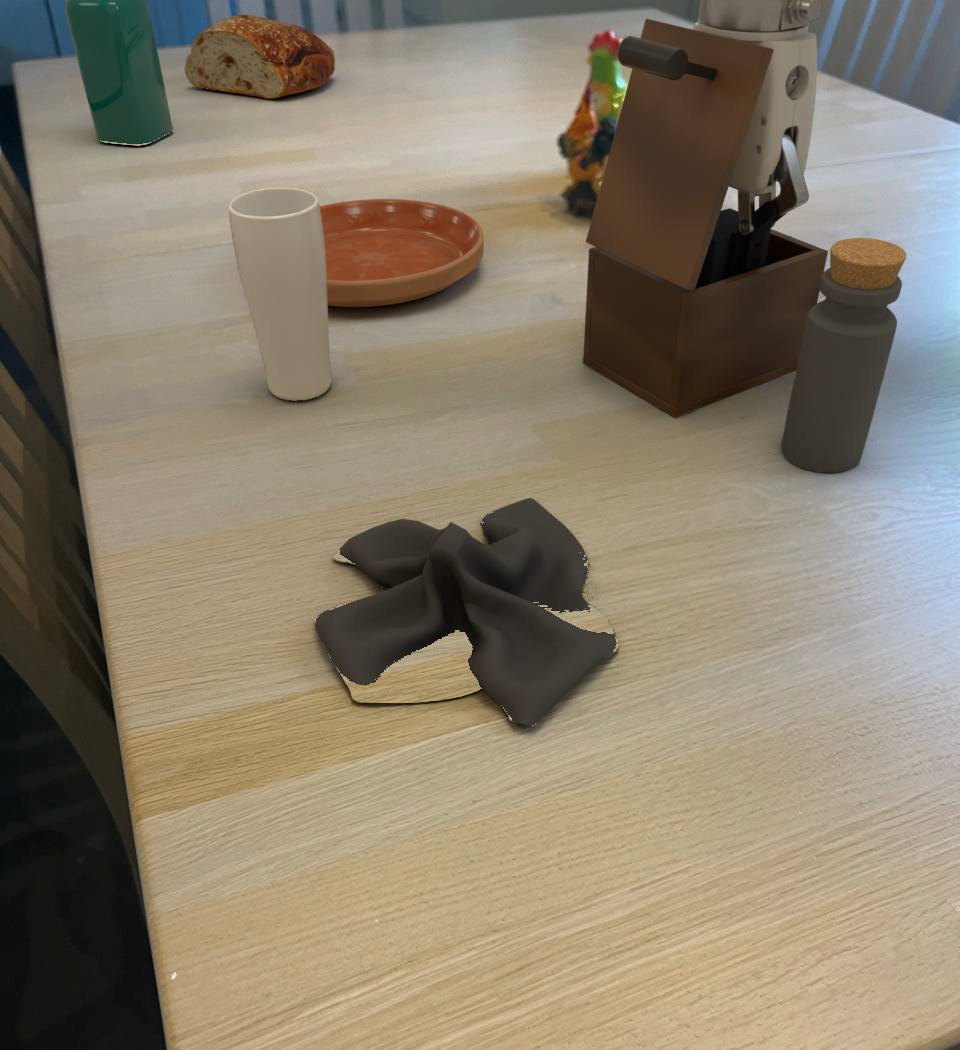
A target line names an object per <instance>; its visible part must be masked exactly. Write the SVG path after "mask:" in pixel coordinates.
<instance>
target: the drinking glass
mask: <svg viewBox="0 0 960 1050" xmlns="http://www.w3.org/2000/svg"><path fill="white" fill-rule="evenodd" d="M320 206H321V205H320V200H319V198H318V196H317V195H316V194H315V193H313V192H311V191H309V190H306V189H302V188H296V187H285V186H283V187H282V186H280V187H279V186H278V187H277V186H276V187H266V188H259V189H255V190H250V191H247V192H244V193H241V194H239V195H237V196H236V197H233V198H232V199H231V200H230V201H229V203H228V205H227V209H228V217H229V225H230V232H231V240H232V246H233V250H234V251H233V252H234V256H235V261H236V265H237V270H238V274H239V277H240V282H241V285H242V289H243V293H244V296H245V301H246V303H247V307H248V311H249V315H250V319H251V323H252V327H253V330H254V334H255V338H256V341H257V342H256V343H257V345H258V349H259V353H260V357H261V361H262V365H263V370H264V376H265V383H266V386H267V388H268V390H269V392H270V393H271V394H272V395H274V397H276V398H278V399H281V400H284V399H285V400H284V401H289V400H291V402H298V401H297V400H303V401H308V399H309V400H312V398H313V399H316V398H318V397H320V396H322V395H324V394H325V393H326V392H327V391H329V389H330V388H331V385H332V382H333V376H332V375H333V374H332V367H331V357H330V356H331V355H330V354H331V353H330V331H329V328H330V327H329V305H328V298H327V266H326V250H325V239H324V231H323V224H322V217H321V211H320ZM315 397H316V398H315Z"/></svg>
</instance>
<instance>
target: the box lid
mask: <svg viewBox="0 0 960 1050" xmlns="http://www.w3.org/2000/svg"><path fill="white" fill-rule="evenodd" d="M643 24H644V25H643V27H642V31H641V35H640V37H637V36H633V35H629V36H626V37H624V38H623V39H622V41H621V42H620V44H619V46H618V48H617V59H618V62H619V64H620V65H621V66H623V67H626V68H628V69H631V72H630V74H629V75H630V76H629V79H628V83H627V87H626V90H625V94H624V98H623V101H622V105H621V109H620V113H619V116H618V119H617V120H618V121H617V124H616V128H615V130H614V134H613V138H612V143H611V147H610V150H609V153H608V158H607V161H606V165H605V169H604V172H603V176H602V180H601V181H602V183H601V187H600V186H599V191H598V194H597V198H596V202H595V205H594V209H593V213H592V217H591V220H590V225H589V228H588V231H587V235H586V239H585V243H586V244H588V245H591V246H593V247H597V248H599V249H601V250H603V251H605V252H608V253H610V254H612V255H614V256H616V257H618V258H620V259H622V260H625V261H627V262H629V263H631V264H633V265H635V266H637V267H639V268H641V269H644V270H646V271H648V272H650V273H652V274H654V275H656V276H658V277H661V278H663V279H665V280H667V281H669V282H671V283H673V284H675V285H678V286H680V287H682V288H684V289H686V290H695V287H696V284H697V281H698V278H699V275H700V272H701V269H702V266H703V263H704V260H705V257H706V254H707V251H708V248H709V245H710V242H711V239H712V236H713V233H714V230H715V227H716V224H717V221H718V218H719V215H720V212H721V210H723V205H724V203H725V199H726V196H727V194H728V190H729V188H730V187H729V184H730V181H731V178H732V175H733V172H734V169H735V166H736V163H737V160H738V157H739V154H740V151H741V148H742V145H743V142H744V139H745V136H746V133H747V130H748V127H749V124H750V121H751V118H752V115H753V112H754V109H755V106H756V103H757V100H758V97H759V94H760V91H761V88H762V85H763V82H764V79H765V76H766V73H767V70H768V67H769V64H770V61H771V58H772V54H773V51H774V49H771V48H768V47H764V46H760V45H756V44H752V43H747V42H743V41H739V40H735V39H731V38H726V37H722V36H718V35H714V34H710V33H705V32H701V31H697V30H693V28H688V27H684V26H680V25H677V24H676V25H675V24H672V23H667V22H663V21H658V20H655V19H650V18H645V20H644V23H643Z"/></svg>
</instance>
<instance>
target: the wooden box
mask: <svg viewBox="0 0 960 1050" xmlns="http://www.w3.org/2000/svg"><path fill="white" fill-rule="evenodd" d="M828 255H829V250H826V249H824V248H820V247H818V246H816V245H813V244H811V243H809V242H806V241H803V240H800V239H798V238H795V237H793V236H790V235H788V234H786V233H784V232H780V231H778V230H775V229H772V228H771V231H770V237H769V242H768V248H767V254H766V259H765V265H764V267H761V268H758V269H755V270H752V271H749V272H746V273H743V274H740V275H737V276H734V277H731V278H728V279H725V280H722V281H719V282H716V283H713V284H709V285H706V286H703V287H702V286H700V285H698V284H696V287H695V290H686V289H684V288H682V287H680V286H678V285H675V284H673V283H671V282H669V281H667V280H665V279H663V278H661V277H658V276H656V275H654V274H652V273H650V272H648V271H646V270H644V269H641V268H639V267H637V266H635V265H633V264H631V263H629V262H627V261H625V260H622V259H620V258H618V257H616V256H614V255H612V254H610V253H608V252H605V251H603V250H601V249H599V248H597V247H595V246H593V247H589V249H588V264H587V278H586V279H587V280H586V299H585V316H584V317H585V318H584V336H583V351H582V352H583V355H582V364H583V365H585V366H587V367H588V368H590V369H592V370H594V371H595V372H597V373H598V374H600V375H602V376H604V377H606V378H607V379H609V380H610V381H612V382H614V383H615V384H617V385H619V386H621V387H623V388H624V389H625V390H627V391H629V392H631V393H633V394H634V395H636V396H638V397H639V398H640V399H643V400H645V401H646V402H648V403H649V404H651V405H653V406H654V407H656V408H657V409H659V410H662V411H663V412H664V413H666V414H668V415H670V416H672V418H677V417H681V416H682V415H686V414H688V413H690V412H693V411H696V410H698V409H701V408H703V407H706V406H708V405H711V404H713V403H716V402H718V401H721V400H723V399H726V398H729V397H731V396H733V395H736V394H739V393H741V392H744V391H746V390H749V389H752V388H754V387H756V386H759V385H762V384H764V383H766V382H769V381H771V380H774V379H777V378H779V377H782V376H784V375H787V374H790V373H792V372H794V371H795V372H796V368H797V363H798V358H799V354H800V349H801V344H802V340H803V335H804V330H805V326H806V321H807V317H808V313H809V311H810V309H811V308H812V307H813V306H814V305H816V304H817V303H819V302H818V301H819V297H820V293H821V291H820V289H819V287H820V281H821V276H822V274H823V272H824V271H825V270H826V264H827V259H828Z"/></svg>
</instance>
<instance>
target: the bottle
mask: <svg viewBox="0 0 960 1050" xmlns="http://www.w3.org/2000/svg"><path fill="white" fill-rule="evenodd" d="M829 253H830V254H829V268H827V269H825V270H824V272H823V274H822V276H821V281H820V287H819V289H820V293H821V294H822V295H823V297H825V299H823V300H821V301H819V302H817V304H816V305H814V306H813V307H812V308H811V309H810V311H809V313H808V317H807V321H806V326H805V330H804V335H803V340H802V344H801V349H800V354H799V358H798V363H797V368H796V370H795V373H794V378H793V383H792V389H791V393H790V398H789V402H788V406H787V407H788V408H787V413H786V418H785V422H784V428H783V432H782V438H781V445H780V449H781V450H780V451H781V453H782V455H783V457H784V458H785V459H786V460H787V461H789V463H791V464H794V465H795V466H797V467H799V468H801V469H804V470H808V471H811V472H815V473H816V472H817V473H824V474H833V473H843V472H846V471H848V470H851V469H854V468H855V467H856V466H858V464H859V463H860V461H861V460H862V457H863V453H864V450H865V447H866V444H867V440H868V436H869V432H870V430H871V429H870V428H871V425H872V421H873V418H874V415H875V411H876V406H877V403H878V399H879V396H880V392H881V388H882V386H883V385H882V384H883V381H884V378H885V373H886V369H887V367H888V366H887V365H888V361H889V358H890V354H891V351H892V347H893V344H894V339H895V335H896V331H897V326H898V319H897V316H896V315H895V314H894V312H893V311H892V310H891V309H890V308H888V306H889V305H891V304H893V303H895V302H896V301H898V299H899V297H900V294H901V290H902V287H903V282H902V279H901V277H900V276H899V273H900V271H901V269H902V268H903V265H904V263H905V261H906V260H907V252H906V251H905V250H904V248H902V247H900V246H899V245H897V244H894V243H893V242H889V241H886V240H882V239H877V238H868V237H856V238H855V237H854V238H845V239H841V240H839V241H837V242H836V241H835V243H833V244H832V245H831V246H830V249H829Z"/></svg>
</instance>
